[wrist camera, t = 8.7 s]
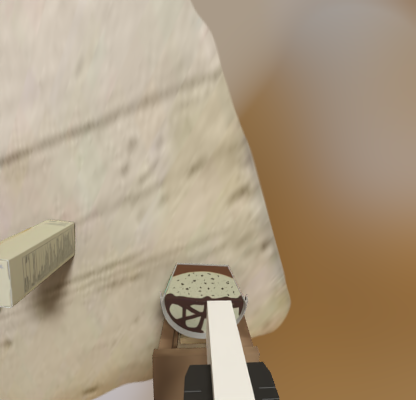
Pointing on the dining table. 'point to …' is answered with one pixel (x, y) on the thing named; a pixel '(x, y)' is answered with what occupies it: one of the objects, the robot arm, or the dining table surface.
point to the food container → (199, 296)
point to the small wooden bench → (186, 359)
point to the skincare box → (33, 258)
